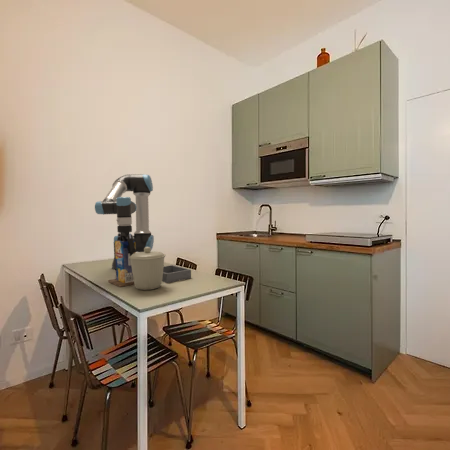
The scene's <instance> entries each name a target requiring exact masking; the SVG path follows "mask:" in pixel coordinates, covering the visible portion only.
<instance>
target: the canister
mask: <svg viewBox="0 0 450 450" xmlns="http://www.w3.org/2000/svg"><path fill="white" fill-rule="evenodd" d="M165 257H167V256H166V254H165V253H163V252H161V251H154V250H151V248H150V247H145V248H144V252H136V253H134V254H132V255H131V256H129V258H130V259H131V267H132V273H133V279H134V287H135V288H136V289H137V290H141V291H149V290H155V289H158V288H160V287H161V286H162V284H163V282H162V278H163V268H164V265H165Z"/></svg>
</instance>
